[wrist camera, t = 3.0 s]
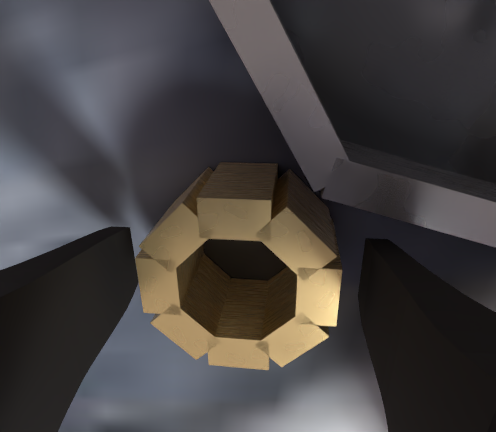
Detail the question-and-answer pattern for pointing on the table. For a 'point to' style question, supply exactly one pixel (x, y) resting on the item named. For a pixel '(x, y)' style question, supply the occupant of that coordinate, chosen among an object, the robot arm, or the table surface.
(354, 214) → the table surface
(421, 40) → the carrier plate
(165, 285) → the gold octagonal ring
